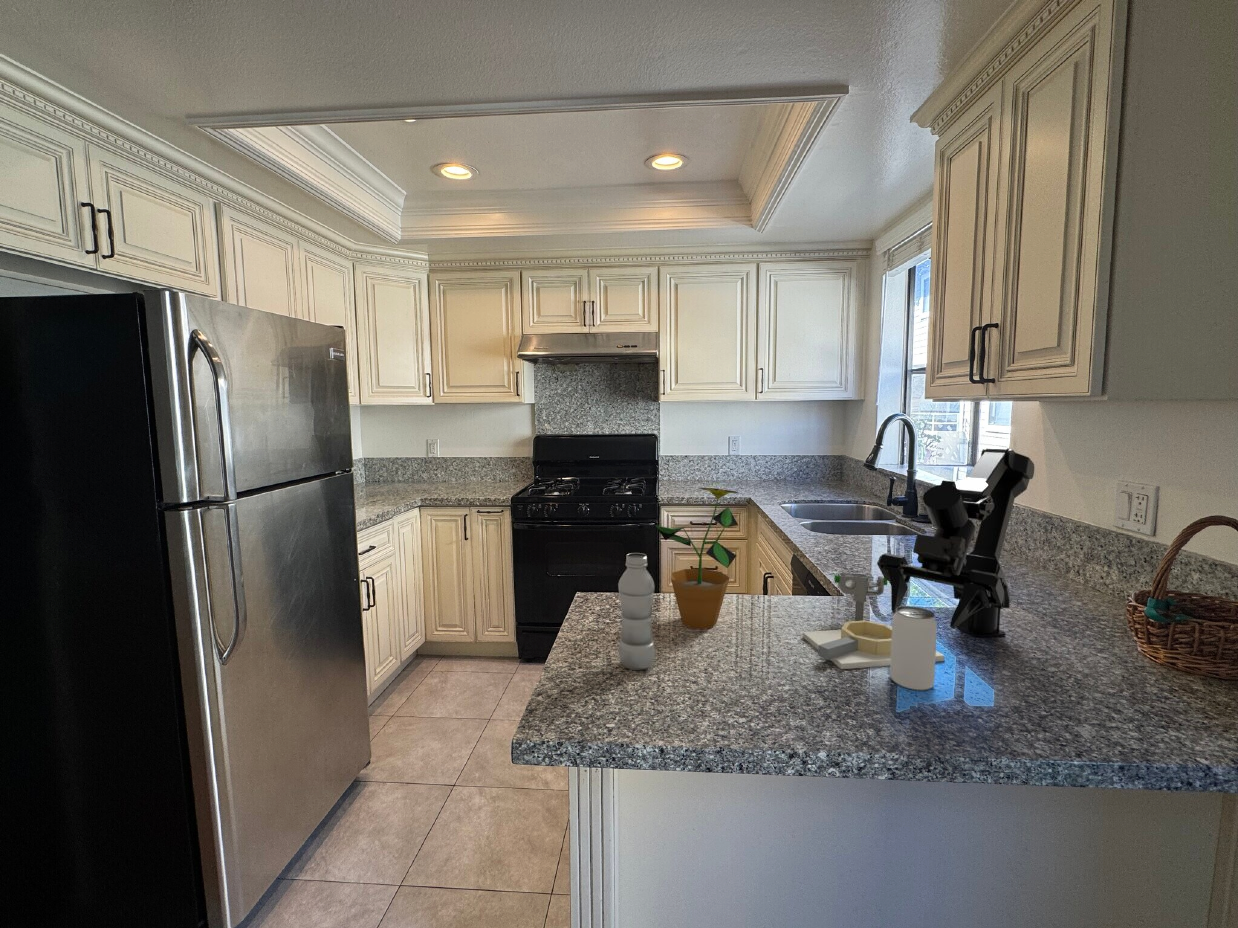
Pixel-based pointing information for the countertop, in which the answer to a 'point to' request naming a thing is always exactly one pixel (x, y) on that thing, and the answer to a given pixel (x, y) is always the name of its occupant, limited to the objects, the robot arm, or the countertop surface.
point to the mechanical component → (859, 589)
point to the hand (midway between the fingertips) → (921, 619)
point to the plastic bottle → (636, 614)
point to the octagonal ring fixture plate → (856, 644)
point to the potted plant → (702, 574)
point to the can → (913, 648)
